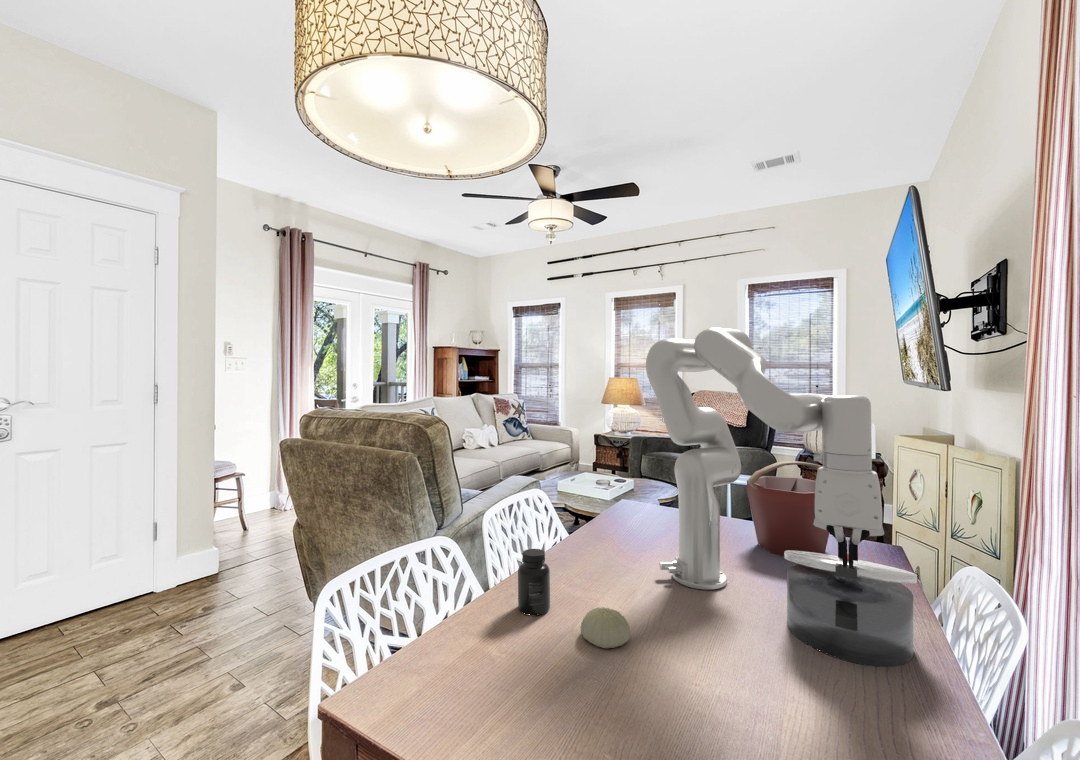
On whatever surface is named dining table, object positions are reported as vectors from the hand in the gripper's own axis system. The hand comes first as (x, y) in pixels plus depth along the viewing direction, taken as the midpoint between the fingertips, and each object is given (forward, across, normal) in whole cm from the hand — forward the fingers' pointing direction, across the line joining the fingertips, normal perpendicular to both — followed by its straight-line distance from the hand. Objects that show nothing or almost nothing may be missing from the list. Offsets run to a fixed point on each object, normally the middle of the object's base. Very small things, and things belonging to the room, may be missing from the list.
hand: (848, 563), depth 85 cm
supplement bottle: (+15, -56, -20) cm, 61 cm away
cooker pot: (+15, 0, +2) cm, 15 cm away
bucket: (+15, -14, +50) cm, 54 cm away
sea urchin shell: (+15, -38, -22) cm, 47 cm away
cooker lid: (+2, 0, +2) cm, 3 cm away
